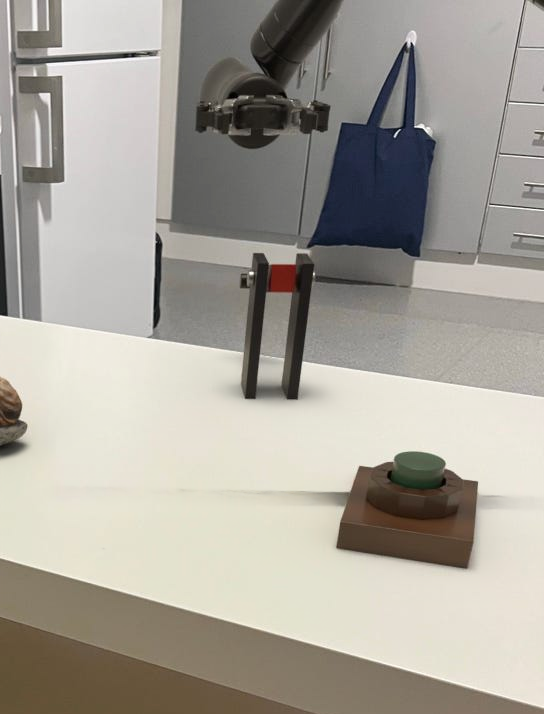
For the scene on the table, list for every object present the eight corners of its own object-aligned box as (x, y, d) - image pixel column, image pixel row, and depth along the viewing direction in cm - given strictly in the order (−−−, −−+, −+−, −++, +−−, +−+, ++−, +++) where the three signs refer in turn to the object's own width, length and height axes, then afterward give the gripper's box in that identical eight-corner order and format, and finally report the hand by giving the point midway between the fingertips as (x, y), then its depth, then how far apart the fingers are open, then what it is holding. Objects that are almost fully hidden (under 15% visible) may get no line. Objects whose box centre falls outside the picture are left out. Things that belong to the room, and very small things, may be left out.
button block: (355, 490, 82) (362, 443, 80) (472, 507, 79) (483, 459, 77) (335, 548, 73) (343, 498, 71) (466, 569, 71) (479, 517, 68)
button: (392, 470, 76) (396, 448, 75) (442, 477, 75) (447, 454, 74) (387, 488, 73) (391, 466, 72) (439, 495, 72) (444, 472, 71)
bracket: (222, 388, 104) (234, 246, 96) (301, 389, 103) (319, 247, 96) (230, 422, 95) (243, 270, 88) (316, 424, 95) (337, 270, 88)
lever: (238, 293, 105) (240, 268, 104) (287, 293, 104) (289, 269, 104) (254, 291, 92) (256, 263, 91) (309, 292, 92) (312, 264, 91)
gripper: (192, 73, 117) (200, 82, 103) (317, 72, 116) (342, 81, 102) (188, 145, 121) (196, 162, 107) (309, 144, 120) (332, 162, 106)
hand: (267, 122), depth 105 cm, fingers open, 8 cm apart
